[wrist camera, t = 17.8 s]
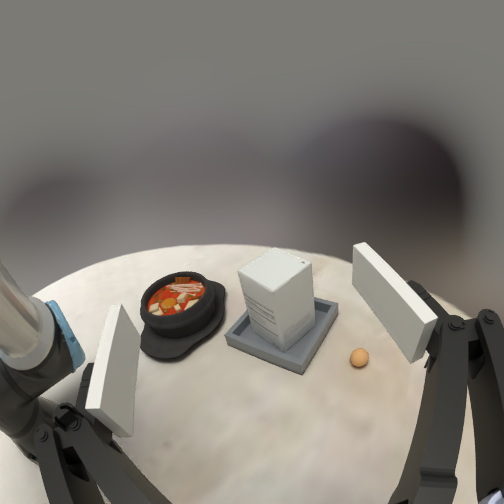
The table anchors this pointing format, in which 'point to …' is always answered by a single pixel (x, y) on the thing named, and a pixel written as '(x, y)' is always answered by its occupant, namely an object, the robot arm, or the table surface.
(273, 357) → the tray
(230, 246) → the table surface
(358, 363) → the ball
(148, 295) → the casserole
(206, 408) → the table surface
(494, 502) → the robot arm
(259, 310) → the supplement box
